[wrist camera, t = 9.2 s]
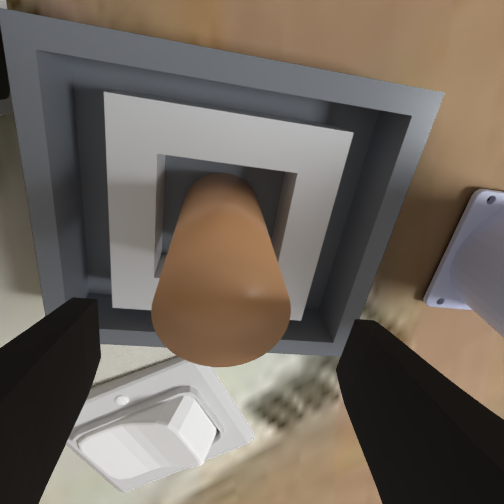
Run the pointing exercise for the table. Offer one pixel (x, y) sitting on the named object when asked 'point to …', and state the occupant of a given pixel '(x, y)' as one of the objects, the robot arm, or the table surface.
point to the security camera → (4, 77)
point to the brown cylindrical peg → (220, 278)
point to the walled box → (204, 167)
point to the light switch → (157, 423)
